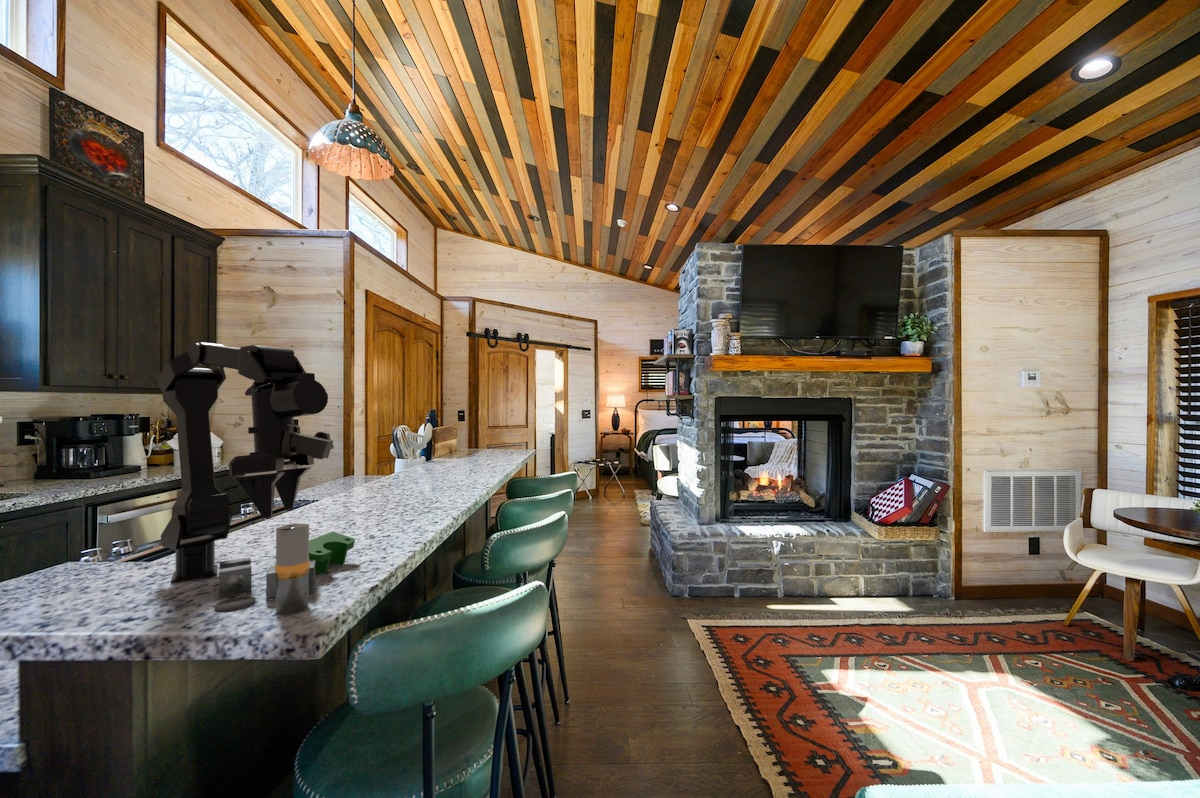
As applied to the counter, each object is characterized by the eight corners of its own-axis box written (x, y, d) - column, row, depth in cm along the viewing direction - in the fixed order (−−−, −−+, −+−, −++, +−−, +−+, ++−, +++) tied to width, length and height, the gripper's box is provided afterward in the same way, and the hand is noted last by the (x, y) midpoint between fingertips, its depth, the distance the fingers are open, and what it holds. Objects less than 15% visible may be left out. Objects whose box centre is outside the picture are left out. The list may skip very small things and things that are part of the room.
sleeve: (273, 607, 78) (274, 526, 78) (307, 600, 81) (307, 522, 81) (275, 618, 74) (276, 532, 74) (310, 610, 77) (311, 527, 77)
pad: (214, 603, 80) (214, 601, 80) (255, 595, 83) (255, 593, 83) (213, 614, 76) (213, 612, 76) (256, 605, 79) (256, 604, 79)
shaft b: (266, 600, 81) (266, 573, 81) (270, 591, 85) (270, 565, 85) (313, 593, 84) (313, 567, 84) (315, 584, 88) (315, 560, 88)
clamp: (316, 598, 93) (312, 562, 89) (288, 589, 94) (284, 553, 90) (358, 556, 103) (357, 523, 100) (333, 548, 104) (331, 514, 101)
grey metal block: (219, 586, 87) (219, 561, 87) (250, 581, 90) (250, 557, 90) (218, 599, 81) (219, 572, 82) (251, 592, 84) (251, 567, 84)
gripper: (307, 413, 75) (314, 515, 75) (341, 418, 94) (346, 500, 93) (224, 420, 73) (230, 525, 72) (275, 423, 91) (280, 507, 90)
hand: (279, 513), depth 82 cm, fingers open, 9 cm apart
